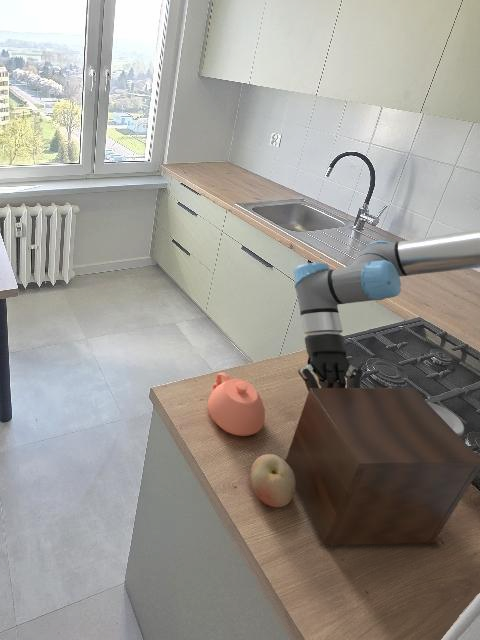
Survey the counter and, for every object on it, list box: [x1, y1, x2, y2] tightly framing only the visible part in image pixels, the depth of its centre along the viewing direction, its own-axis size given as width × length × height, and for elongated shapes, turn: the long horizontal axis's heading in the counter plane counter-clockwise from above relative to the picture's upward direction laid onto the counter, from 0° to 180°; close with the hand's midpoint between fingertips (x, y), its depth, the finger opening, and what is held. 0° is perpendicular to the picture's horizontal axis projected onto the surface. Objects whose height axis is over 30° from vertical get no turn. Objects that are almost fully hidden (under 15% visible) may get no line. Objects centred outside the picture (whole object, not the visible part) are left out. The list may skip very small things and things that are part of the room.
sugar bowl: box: [207, 371, 266, 437], centre depth 94 cm, size 12×14×10 cm
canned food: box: [426, 401, 465, 439], centre depth 87 cm, size 8×8×11 cm
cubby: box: [284, 387, 480, 546], centre depth 75 cm, size 20×15×21 cm
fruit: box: [249, 453, 297, 508], centre depth 78 cm, size 8×8×8 cm
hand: (346, 458), depth 81 cm, fingers closed
